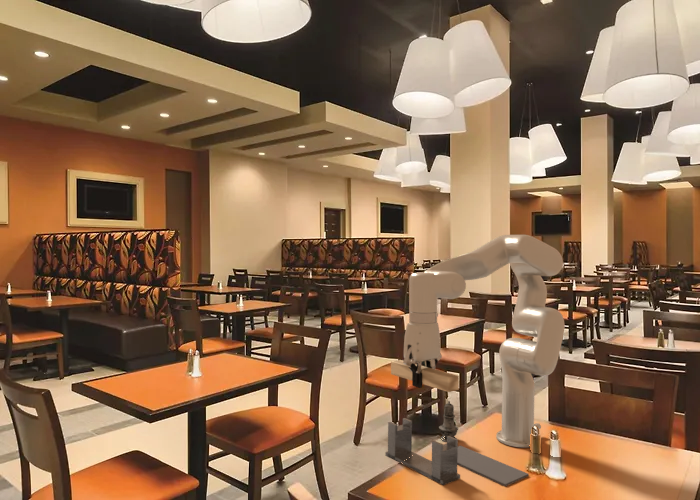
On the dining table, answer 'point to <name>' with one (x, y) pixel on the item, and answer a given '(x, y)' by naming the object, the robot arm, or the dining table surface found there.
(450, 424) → the grey figurine
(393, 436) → the rack
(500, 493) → the dining table surface
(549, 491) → the dining table surface
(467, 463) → the mat
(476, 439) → the dining table surface
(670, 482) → the dining table surface
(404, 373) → the rail
